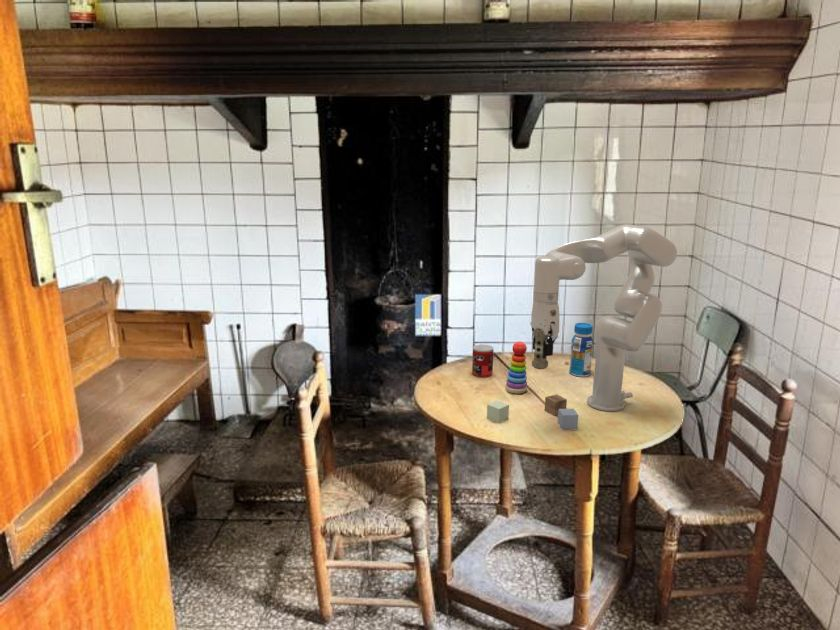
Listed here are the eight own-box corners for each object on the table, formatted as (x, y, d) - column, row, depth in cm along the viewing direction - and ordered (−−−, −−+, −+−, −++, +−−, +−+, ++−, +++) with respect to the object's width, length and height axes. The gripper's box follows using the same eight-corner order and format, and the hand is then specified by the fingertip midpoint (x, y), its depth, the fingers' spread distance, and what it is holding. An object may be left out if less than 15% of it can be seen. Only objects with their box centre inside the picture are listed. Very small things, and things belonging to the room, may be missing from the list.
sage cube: (496, 414, 213) (497, 400, 212) (508, 418, 210) (508, 404, 209) (486, 418, 210) (487, 404, 209) (498, 423, 207) (499, 409, 205)
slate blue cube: (572, 422, 208) (573, 408, 206) (577, 429, 203) (578, 415, 202) (557, 423, 207) (558, 408, 206) (561, 429, 203) (562, 415, 201)
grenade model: (554, 369, 198) (557, 323, 194) (532, 369, 199) (534, 323, 195) (551, 362, 204) (554, 317, 200) (530, 362, 205) (532, 317, 201)
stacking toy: (507, 394, 230) (509, 345, 225) (503, 386, 237) (505, 338, 232) (528, 394, 230) (531, 345, 225) (524, 386, 238) (527, 338, 233)
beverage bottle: (566, 369, 255) (569, 321, 249) (586, 369, 255) (591, 321, 250) (572, 377, 247) (576, 328, 241) (593, 377, 247) (598, 327, 242)
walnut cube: (555, 407, 219) (556, 394, 218) (565, 413, 215) (566, 399, 213) (544, 410, 217) (545, 396, 215) (554, 416, 212) (555, 402, 211)
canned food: (469, 371, 252) (469, 345, 249) (487, 369, 254) (488, 343, 251) (476, 378, 245) (477, 351, 242) (495, 376, 247) (496, 349, 244)
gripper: (571, 302, 189) (567, 359, 194) (542, 289, 205) (539, 343, 210) (549, 304, 187) (545, 362, 192) (521, 291, 202) (519, 345, 207)
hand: (542, 351), depth 201 cm, fingers closed on grenade model, 5 cm apart
